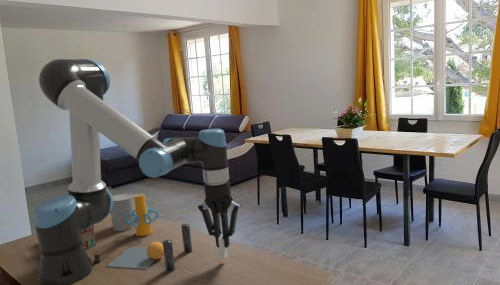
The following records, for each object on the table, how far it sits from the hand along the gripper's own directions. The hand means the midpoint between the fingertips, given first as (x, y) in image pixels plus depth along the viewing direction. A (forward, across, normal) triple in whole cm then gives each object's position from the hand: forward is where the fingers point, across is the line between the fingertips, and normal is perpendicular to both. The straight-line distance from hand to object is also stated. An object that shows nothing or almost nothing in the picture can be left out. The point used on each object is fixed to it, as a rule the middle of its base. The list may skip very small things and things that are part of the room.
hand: (224, 256), depth 121 cm
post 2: (+2, +15, -6) cm, 16 cm away
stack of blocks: (+2, +62, -10) cm, 63 cm away
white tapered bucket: (+2, +51, -25) cm, 57 cm away
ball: (-1, +23, 0) cm, 23 cm away
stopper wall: (+2, +42, 0) cm, 42 cm away
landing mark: (+2, +30, 0) cm, 30 cm away
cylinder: (+2, +39, -19) cm, 43 cm away
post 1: (+2, +15, +6) cm, 16 cm away
